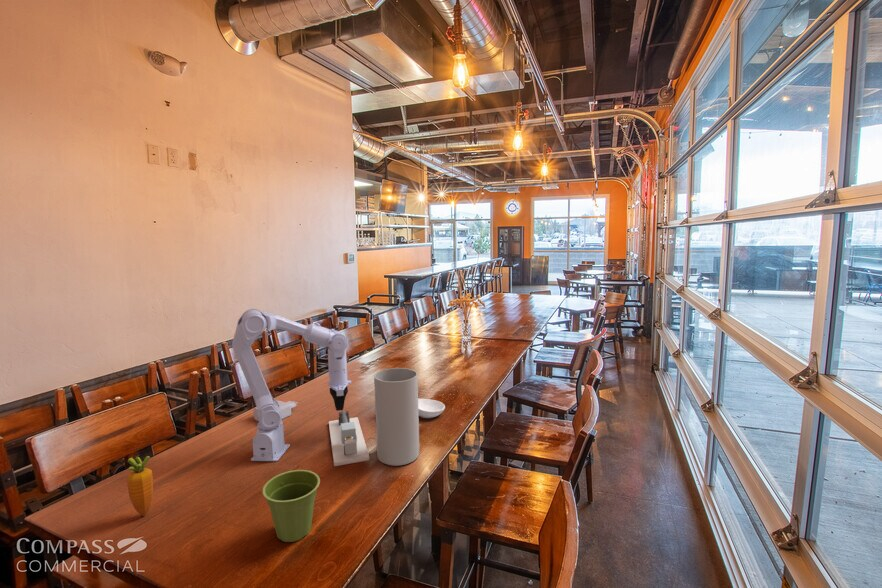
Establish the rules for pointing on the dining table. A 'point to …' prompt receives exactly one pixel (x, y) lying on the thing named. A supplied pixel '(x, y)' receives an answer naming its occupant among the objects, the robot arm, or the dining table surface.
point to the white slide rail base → (347, 442)
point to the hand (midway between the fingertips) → (339, 409)
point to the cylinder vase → (397, 416)
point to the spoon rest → (429, 408)
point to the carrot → (140, 485)
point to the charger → (284, 409)
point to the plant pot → (292, 502)
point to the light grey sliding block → (348, 431)
